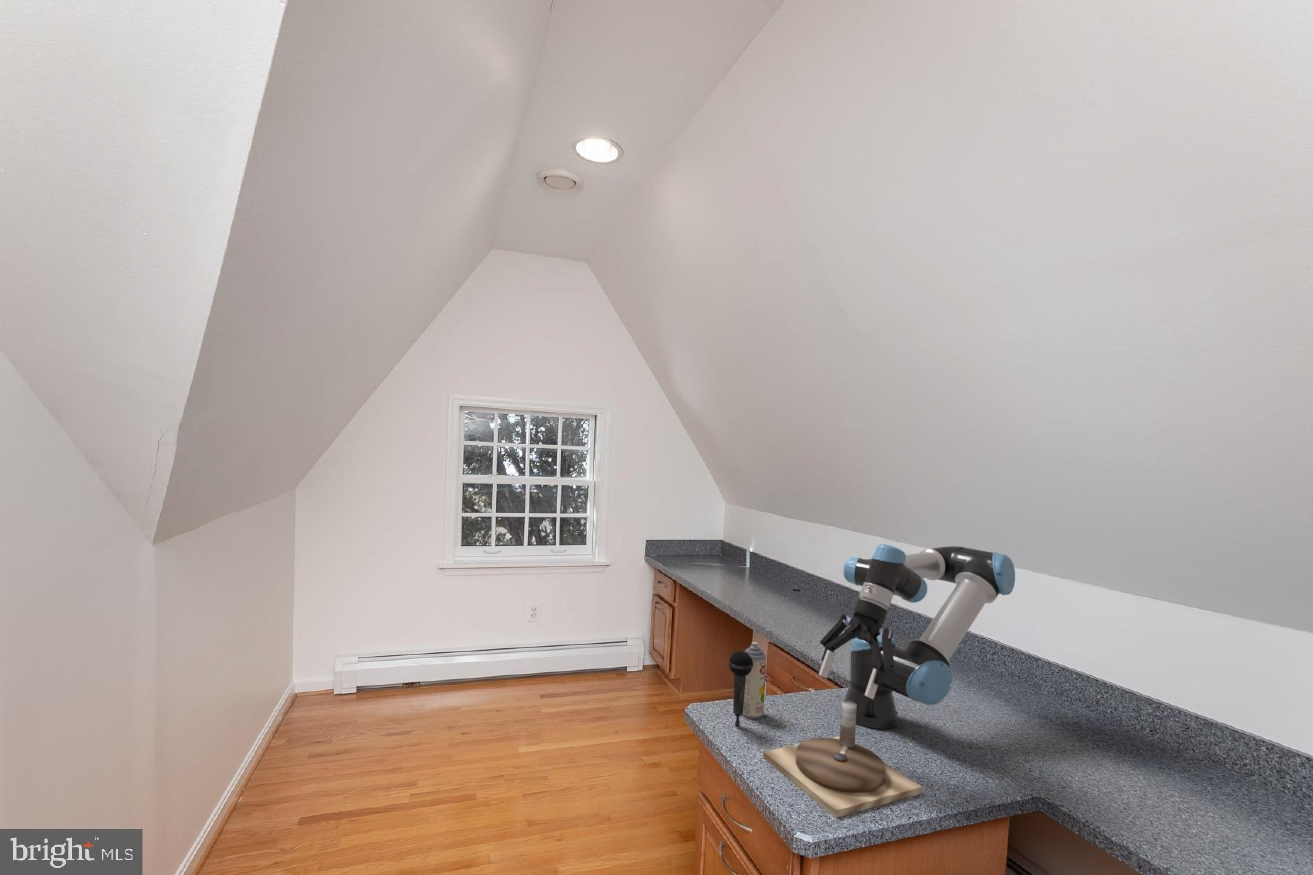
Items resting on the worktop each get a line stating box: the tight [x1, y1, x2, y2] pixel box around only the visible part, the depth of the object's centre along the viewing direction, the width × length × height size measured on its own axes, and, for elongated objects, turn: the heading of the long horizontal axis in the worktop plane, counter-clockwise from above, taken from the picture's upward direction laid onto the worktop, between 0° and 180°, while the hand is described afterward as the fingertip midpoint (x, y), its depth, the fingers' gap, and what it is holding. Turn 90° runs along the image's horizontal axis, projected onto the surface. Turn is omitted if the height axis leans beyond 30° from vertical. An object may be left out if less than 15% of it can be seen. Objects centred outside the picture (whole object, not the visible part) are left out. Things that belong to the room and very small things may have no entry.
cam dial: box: [796, 699, 886, 792], centre depth 138 cm, size 20×20×12 cm
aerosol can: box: [740, 641, 767, 720], centre depth 169 cm, size 7×7×20 cm
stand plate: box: [762, 735, 923, 819], centre depth 138 cm, size 25×25×2 cm
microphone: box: [727, 650, 753, 727], centre depth 161 cm, size 7×7×20 cm
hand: (844, 686), depth 144 cm, fingers open, 13 cm apart
